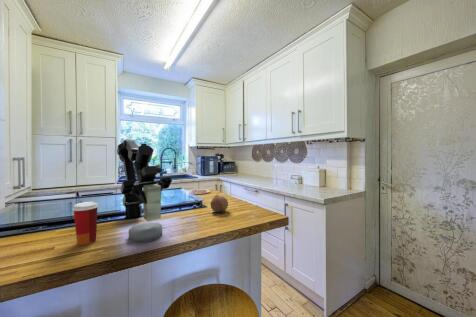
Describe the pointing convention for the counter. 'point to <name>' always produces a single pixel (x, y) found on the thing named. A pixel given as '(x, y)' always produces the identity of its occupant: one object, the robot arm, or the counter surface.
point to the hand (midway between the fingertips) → (153, 202)
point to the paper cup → (85, 222)
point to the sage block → (152, 202)
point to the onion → (219, 204)
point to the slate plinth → (145, 232)
